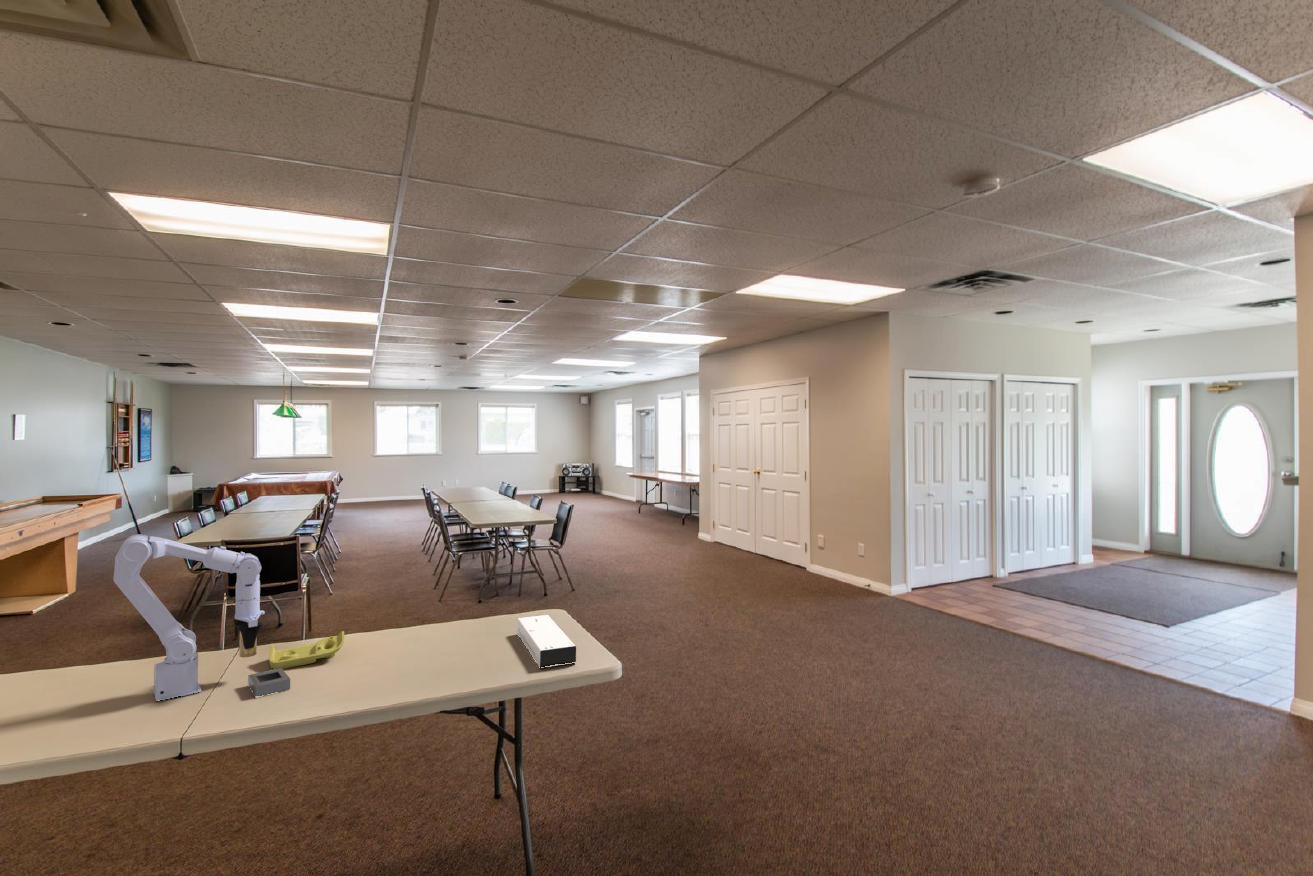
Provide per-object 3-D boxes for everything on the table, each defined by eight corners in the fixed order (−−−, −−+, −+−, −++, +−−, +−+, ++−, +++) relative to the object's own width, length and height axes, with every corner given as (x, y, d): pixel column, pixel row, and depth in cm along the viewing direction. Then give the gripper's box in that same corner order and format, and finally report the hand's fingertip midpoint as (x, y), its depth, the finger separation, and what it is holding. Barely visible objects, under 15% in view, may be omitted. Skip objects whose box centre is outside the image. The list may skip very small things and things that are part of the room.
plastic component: (268, 664, 180) (271, 639, 187) (271, 682, 183) (274, 657, 191) (344, 650, 188) (344, 627, 196) (346, 667, 191) (346, 644, 199)
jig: (255, 698, 163) (255, 687, 162) (248, 686, 170) (248, 675, 170) (290, 689, 168) (290, 678, 168) (281, 678, 175) (281, 667, 175)
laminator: (516, 635, 216) (517, 618, 216) (551, 631, 221) (551, 614, 221) (540, 671, 185) (540, 650, 185) (579, 665, 190) (579, 645, 190)
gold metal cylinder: (240, 658, 172) (241, 633, 171) (238, 654, 174) (238, 629, 174) (257, 655, 174) (258, 630, 174) (254, 651, 177) (255, 627, 177)
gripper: (270, 601, 171) (269, 649, 172) (258, 590, 182) (258, 636, 182) (240, 606, 167) (239, 655, 167) (230, 594, 177) (229, 641, 177)
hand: (247, 646), depth 174 cm, fingers closed on gold metal cylinder, 4 cm apart
